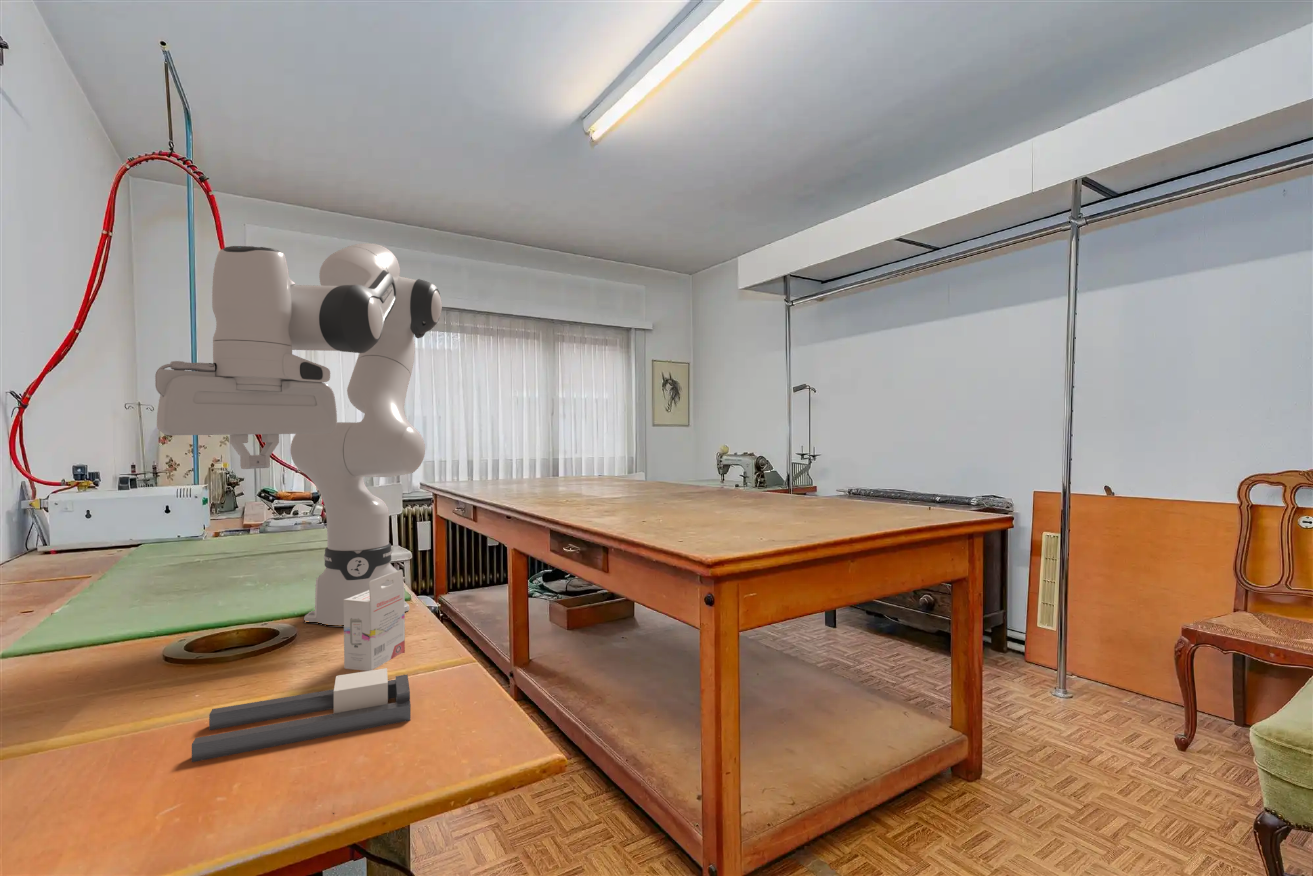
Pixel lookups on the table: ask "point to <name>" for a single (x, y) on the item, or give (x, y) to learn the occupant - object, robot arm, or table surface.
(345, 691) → the block
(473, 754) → the table surface
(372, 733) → the table surface
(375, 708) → the chute
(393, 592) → the ink cartridge box
